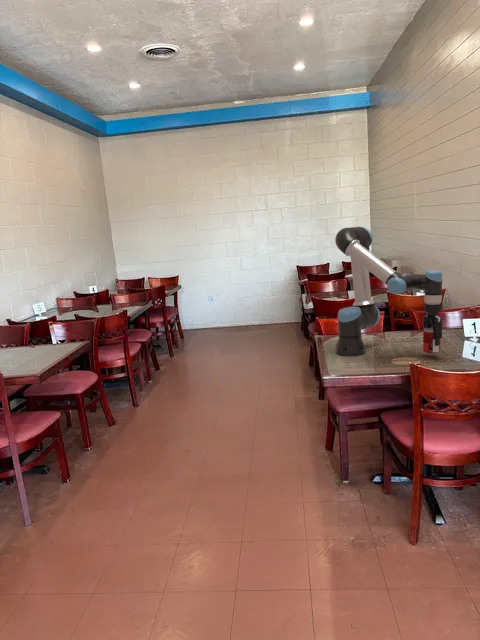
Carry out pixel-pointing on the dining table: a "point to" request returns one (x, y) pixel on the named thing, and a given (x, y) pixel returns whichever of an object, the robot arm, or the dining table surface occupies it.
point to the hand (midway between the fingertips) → (431, 349)
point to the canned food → (429, 340)
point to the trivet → (405, 361)
